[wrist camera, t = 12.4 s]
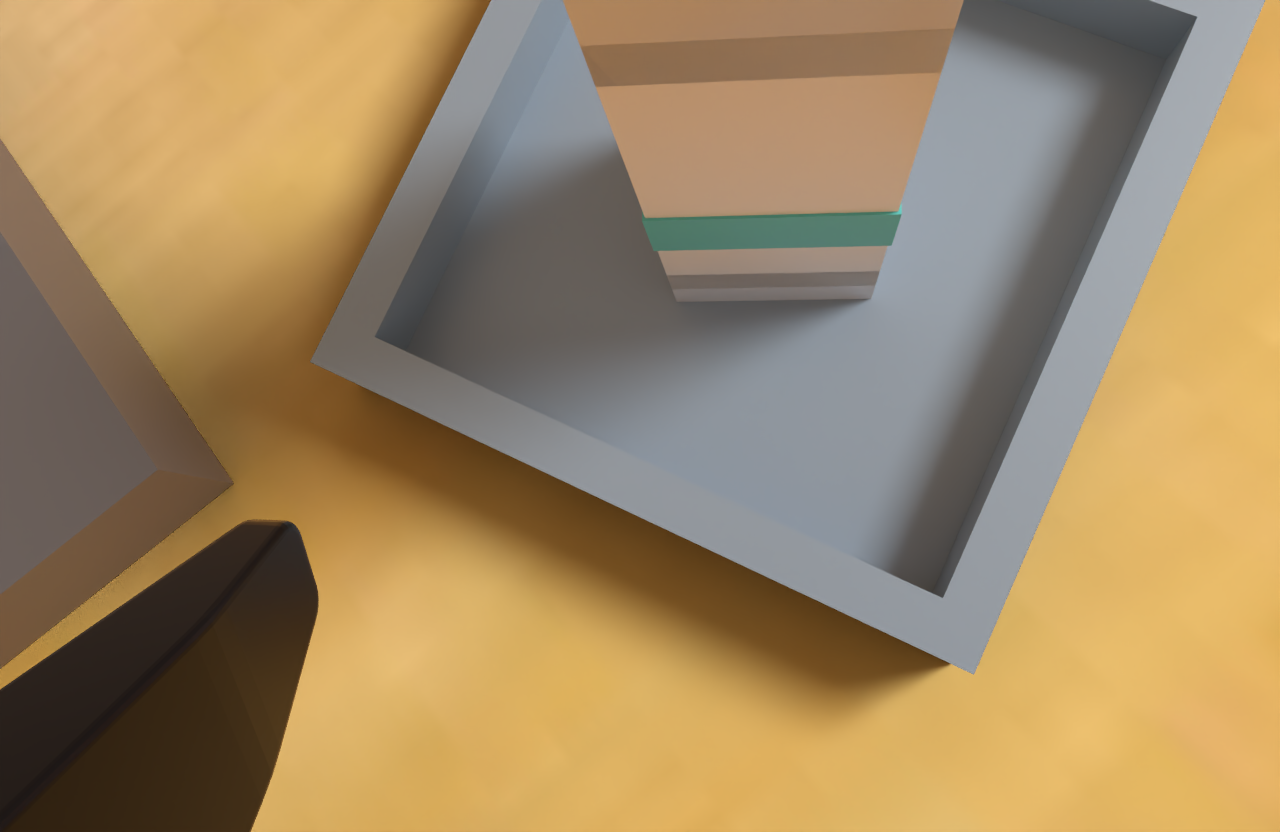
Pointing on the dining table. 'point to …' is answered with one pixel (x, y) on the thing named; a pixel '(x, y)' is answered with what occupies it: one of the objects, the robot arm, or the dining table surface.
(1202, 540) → the dining table surface
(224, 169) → the dining table surface
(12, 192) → the block
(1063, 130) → the tray
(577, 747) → the dining table surface
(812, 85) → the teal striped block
